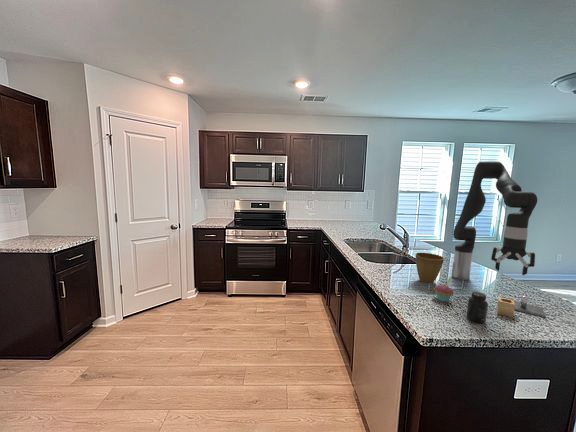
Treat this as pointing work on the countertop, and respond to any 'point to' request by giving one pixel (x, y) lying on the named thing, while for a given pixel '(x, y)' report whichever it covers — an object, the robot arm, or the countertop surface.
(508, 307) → the tan cube
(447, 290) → the cupcake
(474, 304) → the supplement bottle
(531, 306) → the post fixture
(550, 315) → the countertop surface
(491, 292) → the countertop surface
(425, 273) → the plant pot
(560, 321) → the countertop surface
